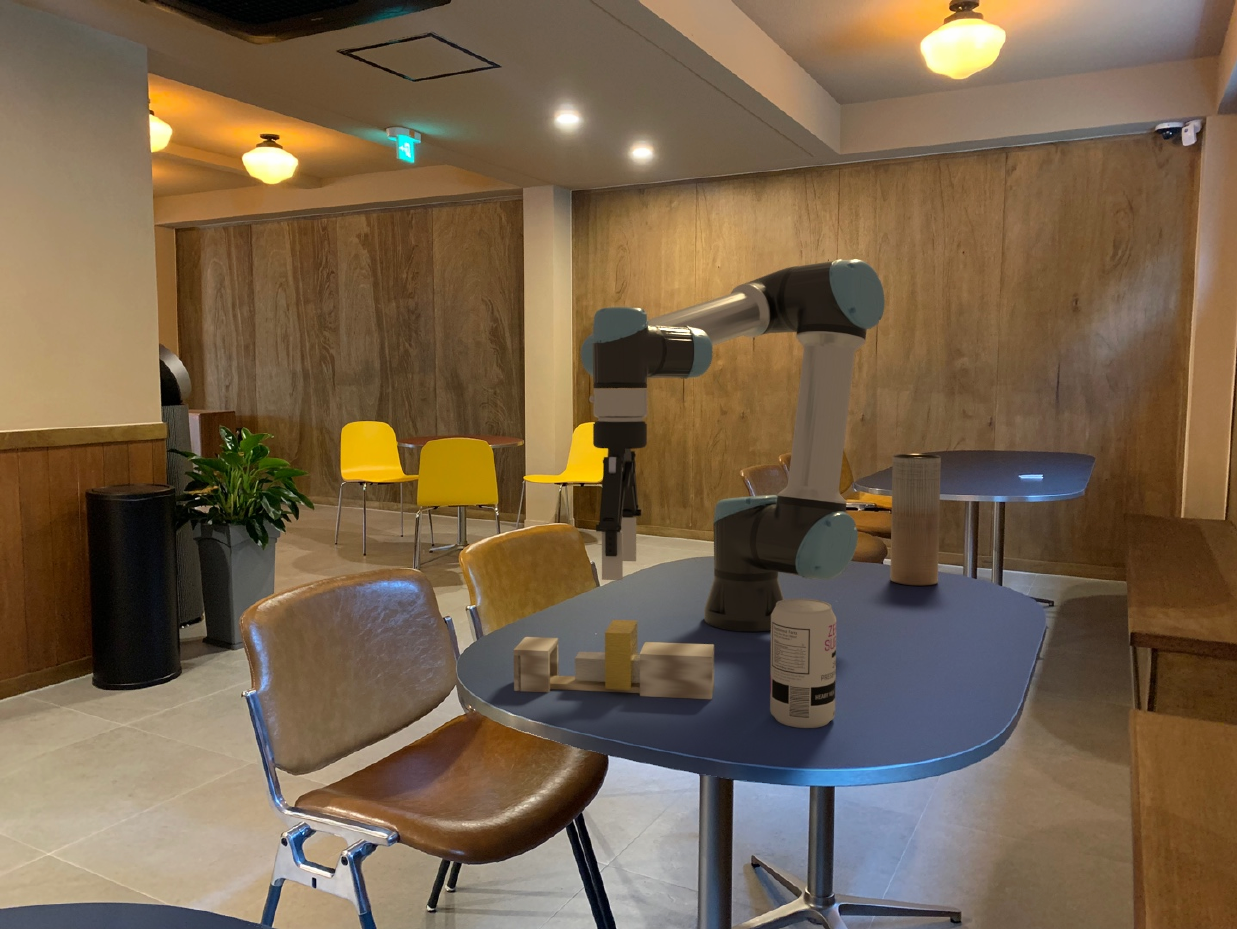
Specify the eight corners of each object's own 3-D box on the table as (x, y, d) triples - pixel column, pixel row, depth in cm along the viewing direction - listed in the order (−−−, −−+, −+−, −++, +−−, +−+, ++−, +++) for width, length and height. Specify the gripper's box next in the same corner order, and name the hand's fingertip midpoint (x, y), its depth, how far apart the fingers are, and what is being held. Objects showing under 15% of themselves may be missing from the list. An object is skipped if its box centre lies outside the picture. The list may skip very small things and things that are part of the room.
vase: (944, 586, 194) (947, 457, 191) (897, 586, 194) (900, 457, 192) (929, 576, 204) (931, 453, 201) (884, 576, 204) (887, 453, 201)
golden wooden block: (714, 677, 131) (714, 623, 130) (711, 693, 124) (711, 636, 123) (582, 671, 134) (581, 618, 133) (572, 687, 127) (571, 631, 126)
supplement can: (763, 708, 121) (764, 598, 120) (823, 706, 122) (825, 596, 121) (779, 731, 113) (780, 613, 112) (843, 728, 114) (845, 611, 113)
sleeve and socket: (714, 684, 131) (714, 644, 130) (711, 700, 124) (711, 657, 124) (526, 676, 135) (525, 636, 135) (514, 690, 129) (513, 649, 128)
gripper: (608, 417, 139) (608, 553, 141) (575, 422, 115) (576, 587, 116) (656, 417, 138) (656, 554, 140) (634, 422, 114) (634, 589, 115)
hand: (620, 569), depth 128 cm, fingers open, 13 cm apart
